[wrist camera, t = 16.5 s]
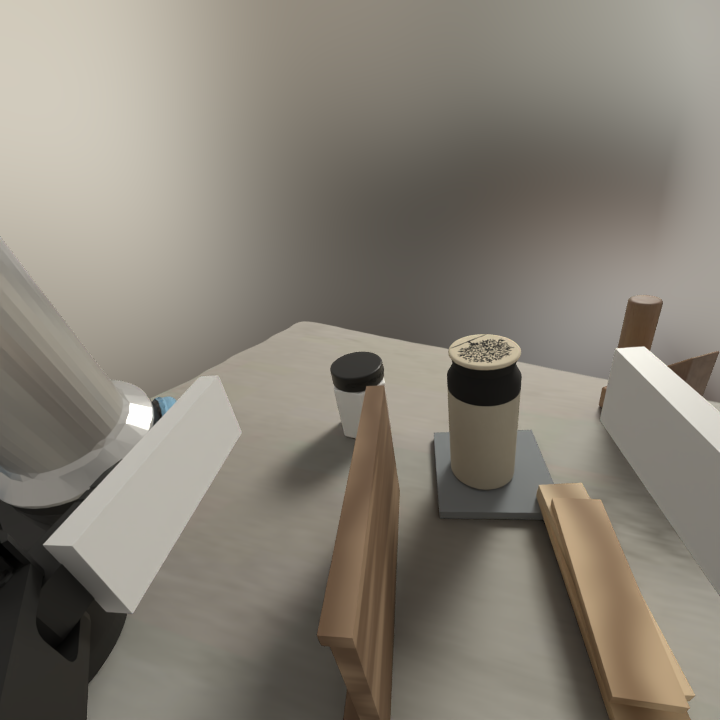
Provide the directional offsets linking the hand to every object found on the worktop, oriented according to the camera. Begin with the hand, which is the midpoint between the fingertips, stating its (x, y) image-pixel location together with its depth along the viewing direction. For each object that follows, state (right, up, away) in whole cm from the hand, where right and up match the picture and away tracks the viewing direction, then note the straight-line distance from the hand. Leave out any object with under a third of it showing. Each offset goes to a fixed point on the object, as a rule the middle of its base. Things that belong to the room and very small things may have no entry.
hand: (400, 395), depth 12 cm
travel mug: (+15, -13, +36) cm, 41 cm away
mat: (+16, -14, +36) cm, 42 cm away
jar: (0, -10, +49) cm, 50 cm away
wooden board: (+2, -22, +26) cm, 34 cm away
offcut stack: (+21, -20, +22) cm, 36 cm away
